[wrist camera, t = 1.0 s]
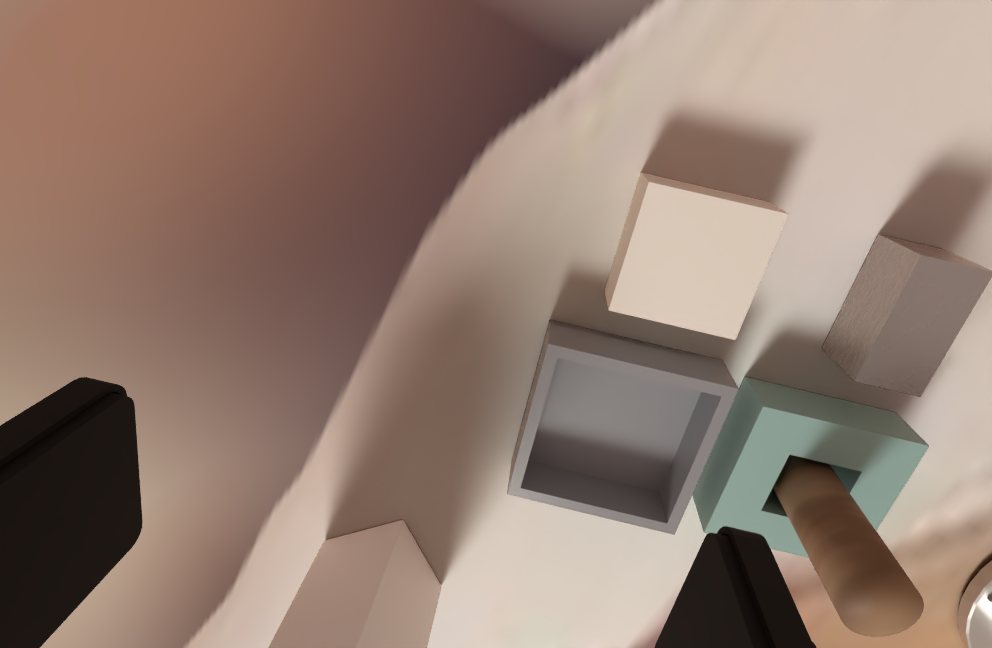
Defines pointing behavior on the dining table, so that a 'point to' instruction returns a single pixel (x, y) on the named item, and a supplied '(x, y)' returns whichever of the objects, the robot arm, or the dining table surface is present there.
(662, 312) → the cream square tile
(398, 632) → the milk
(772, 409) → the socket block
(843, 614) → the dowel
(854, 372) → the grayish brown rectangular block
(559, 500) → the tray
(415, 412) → the dining table surface
